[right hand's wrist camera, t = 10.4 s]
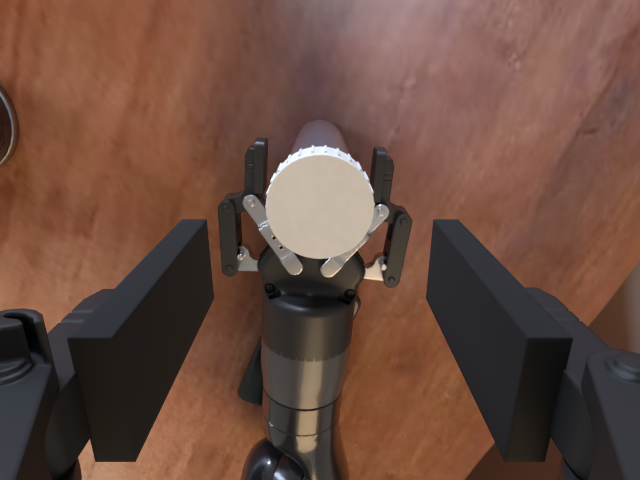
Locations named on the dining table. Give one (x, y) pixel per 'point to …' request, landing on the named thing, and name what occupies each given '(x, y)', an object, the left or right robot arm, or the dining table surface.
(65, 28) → the dining table surface
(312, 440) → the left robot arm
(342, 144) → the bottle
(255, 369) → the smartphone
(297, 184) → the lid
